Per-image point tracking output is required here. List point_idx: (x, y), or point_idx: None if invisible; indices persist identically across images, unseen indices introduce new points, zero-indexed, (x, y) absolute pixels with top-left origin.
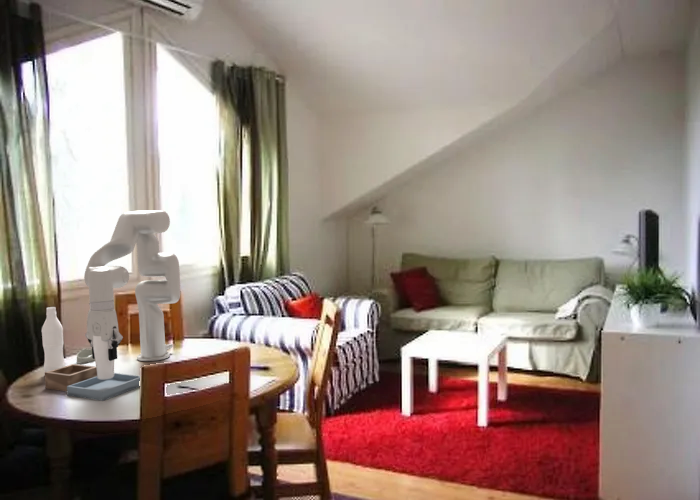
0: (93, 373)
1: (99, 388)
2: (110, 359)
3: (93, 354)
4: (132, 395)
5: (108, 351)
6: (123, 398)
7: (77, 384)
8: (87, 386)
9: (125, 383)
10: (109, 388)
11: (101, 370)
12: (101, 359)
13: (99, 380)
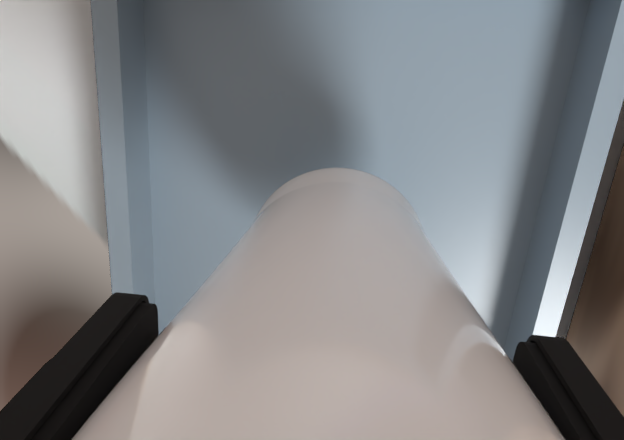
0: (617, 376)
1: (373, 164)
2: (110, 306)
3: (567, 388)
4: (21, 140)
5: (45, 406)
6: (21, 50)
7: (593, 84)
8: (532, 185)
9: (108, 225)
10: (108, 30)
11: (302, 194)
12: (255, 251)
13: (514, 328)
